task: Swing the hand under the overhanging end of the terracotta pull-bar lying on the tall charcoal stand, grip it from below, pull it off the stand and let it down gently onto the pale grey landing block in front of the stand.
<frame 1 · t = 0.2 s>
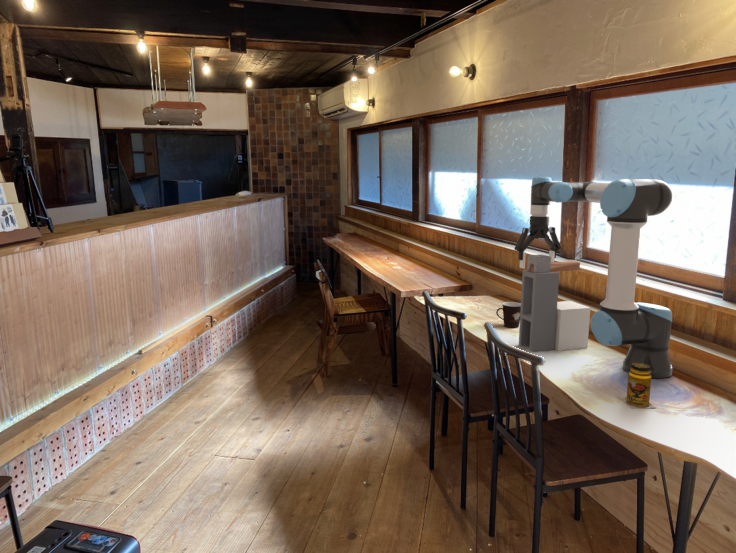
hand: (536, 267, 225), 29 cm above the table, tool pointing down, fingers open, 13 cm apart
condiment: (636, 403, 161), on the table
pull bar: (554, 270, 208), point 30 cm above the table, touching stand
landing block: (563, 344, 216), on the table
coffee mug: (507, 326, 242), on the table
stand: (536, 347, 212), on the table
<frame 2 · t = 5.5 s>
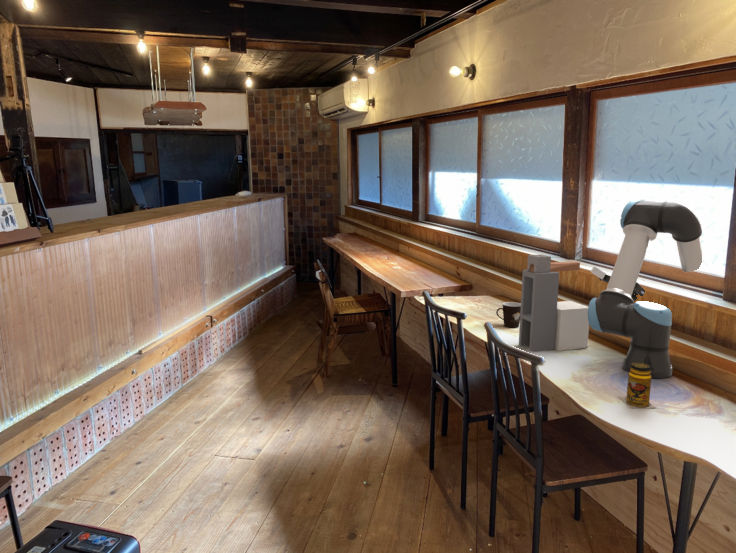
hand: (603, 271, 215), 28 cm above the table, tool pointing upward, fingers open, 13 cm apart
nothing on the table moved.
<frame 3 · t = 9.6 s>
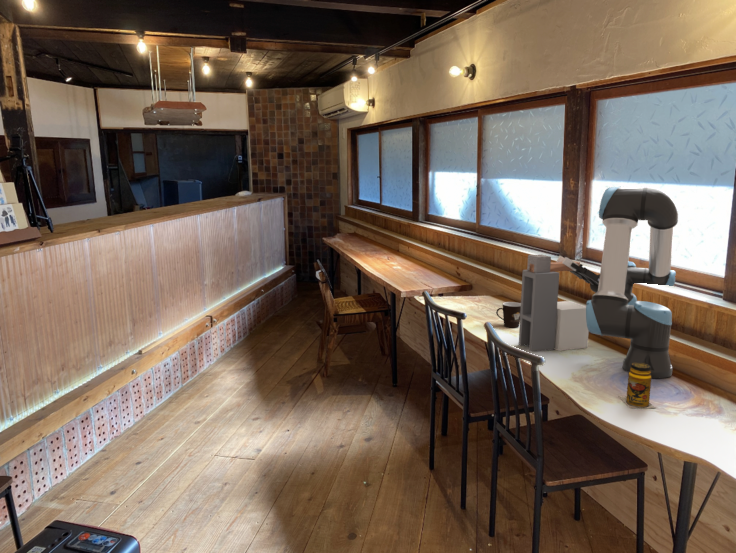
hand: (561, 259, 208), 34 cm above the table, tool pointing upward, fingers closed on pull bar, 3 cm apart
pull bar: (554, 270, 208), point 30 cm above the table, touching gripper, stand
everything else where it was.
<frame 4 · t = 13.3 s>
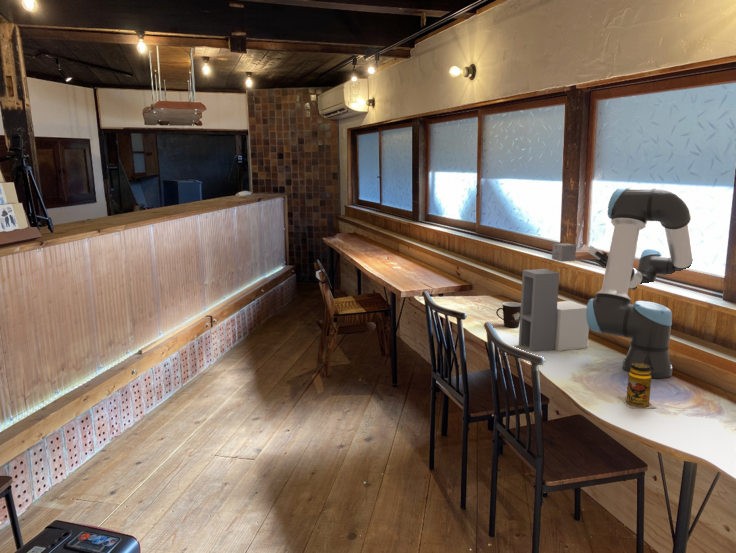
hand: (585, 248, 210), 38 cm above the table, tool pointing upward, fingers closed on pull bar, 3 cm apart
pull bar: (579, 259, 210), point 34 cm above the table, touching gripper
everything else where it was.
when the fingers open (25 cm above the table, at t = 17.2 s): pull bar drops 5 cm, resting on landing block.
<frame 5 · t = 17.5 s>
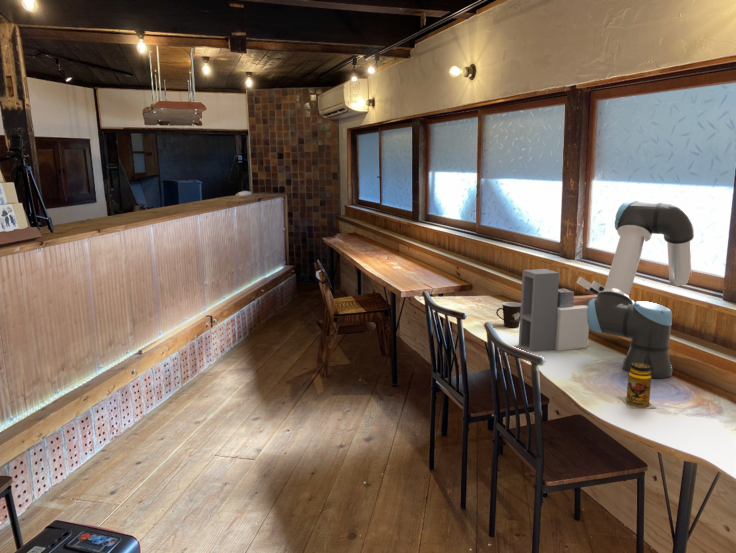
hand: (585, 281, 213), 25 cm above the table, tool pointing upward, fingers open, 8 cm apart
pull bar: (576, 304, 214), point 16 cm above the table, touching landing block
everything else where it was.
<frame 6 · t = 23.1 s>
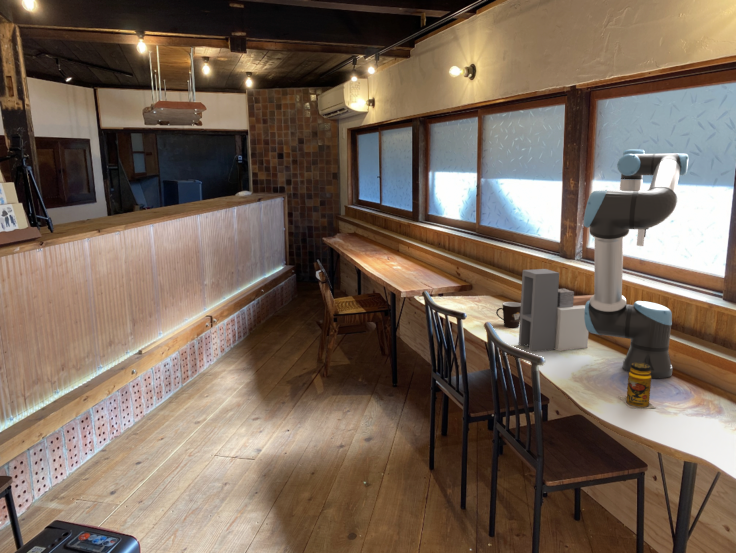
hand: (625, 246, 212), 39 cm above the table, tool pointing down, fingers open, 13 cm apart
nothing on the table moved.
at the end: pull bar inside the target area (0.9 cm from its centre), point 16.0 cm above the table; pull bar touching landing block; the gripper is holding nothing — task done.
